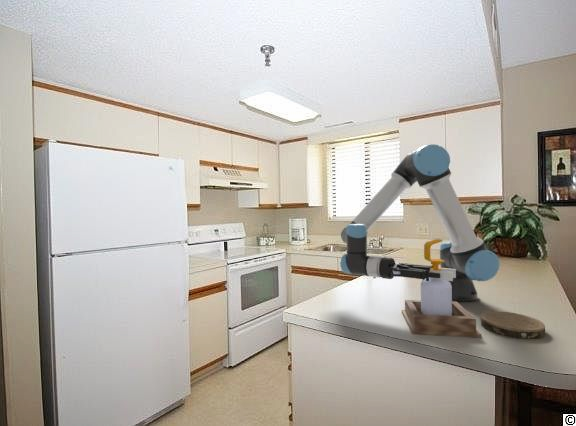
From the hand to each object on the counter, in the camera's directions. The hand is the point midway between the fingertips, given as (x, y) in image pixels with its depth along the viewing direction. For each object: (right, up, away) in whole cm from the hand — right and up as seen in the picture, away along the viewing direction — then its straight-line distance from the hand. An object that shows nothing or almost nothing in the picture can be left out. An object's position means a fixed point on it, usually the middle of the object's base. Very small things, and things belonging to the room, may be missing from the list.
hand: (453, 275), depth 95 cm
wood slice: (+17, -17, -2) cm, 24 cm away
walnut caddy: (-4, -17, +3) cm, 17 cm away
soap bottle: (-4, -14, +3) cm, 15 cm away
